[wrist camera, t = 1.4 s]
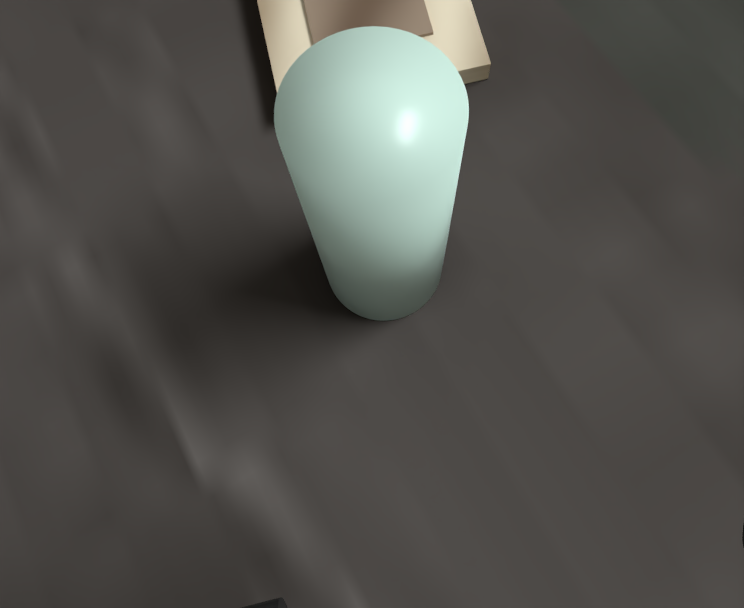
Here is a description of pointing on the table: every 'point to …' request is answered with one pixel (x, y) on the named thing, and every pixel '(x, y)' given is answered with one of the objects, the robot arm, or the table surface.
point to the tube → (375, 162)
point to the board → (374, 8)
